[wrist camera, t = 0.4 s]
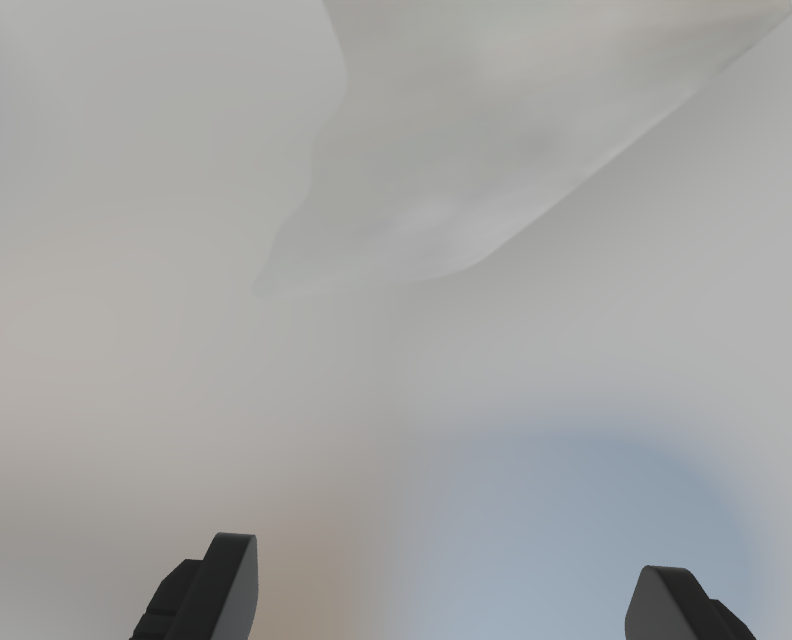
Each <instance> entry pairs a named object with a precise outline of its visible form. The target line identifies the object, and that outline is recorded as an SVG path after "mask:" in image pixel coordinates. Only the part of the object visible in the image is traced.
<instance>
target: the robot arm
mask: <svg viewBox="0 0 792 640" xmlns="http://www.w3.org/2000/svg"><path fill="white" fill-rule="evenodd" d="M257 599H258V563H257V539H256V536H255V535H249V534H235V533H222V532H219V533H217V534H216V535H215V537H214V539H213V540H212V543H211V544H210V546H209V549H208V551H207V553H206V555H205V557H204V559H203V560H191V559H185V560H184V561H183V562H182V563H181V564H180V565H179V566H178V567H177V568H175V569H174V570H173V571H172V572H171V573H170V574H169V575H168V576H167V577H166V578H165V579H164V580H163V581H162V582H161V584H160V585H159V587H158V589H157V591H156V593H155V594H154V596H153V598H152V600H151V601H150V603H149V605H148V607H147V610H146V613H145V614H143V616H142V617H141V619H140V621H139V623H138V625H137V626H136V628H135V630H134V633H133V636H132V638H130V639H129V640H247V639H248V636H249V633H250V630H251V626H252V623H253V620H254V615H255V611H256V605H257ZM625 635H626V640H756V638H755V637H754V636H753V634H752V633H751V632H750V630H749V629H748V628H747V626H746V625H745V624H744V623H743V622H742V621H741V620H739V618H737V617H736V616H735V615H734V614H733V613H732V612H731V611H730V610H729V609H727V607H725V606H724V605H723V604H722V603H721V602H720V601H719V600H714V599H709V597H708V596H707V594H706V593H705V591H704V590H703V589H702V587H701V585H700V584H699V582H698V581H697V580H696V578H695V577H694V576H693V574H692V573H691V572H690V571H688V570H687V569H685V568H676V567H662V566H649V565H647V566H645V567H644V568H643V569H642V571H641V573H640V576H639V579H638V582H637V585H636V588H635V591H634V594H633V597H632V600H631V603H630V605H629V609H628V611H627V614H626V618H625Z"/></svg>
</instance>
